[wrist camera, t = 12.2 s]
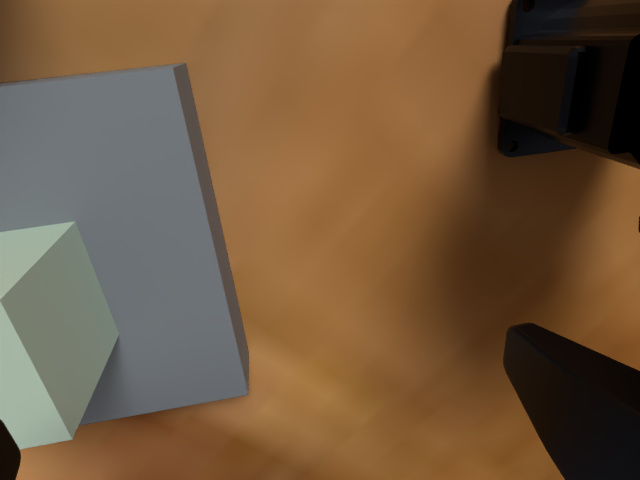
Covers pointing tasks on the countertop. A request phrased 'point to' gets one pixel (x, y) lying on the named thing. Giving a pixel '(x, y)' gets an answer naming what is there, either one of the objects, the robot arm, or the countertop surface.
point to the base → (132, 227)
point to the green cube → (49, 333)
